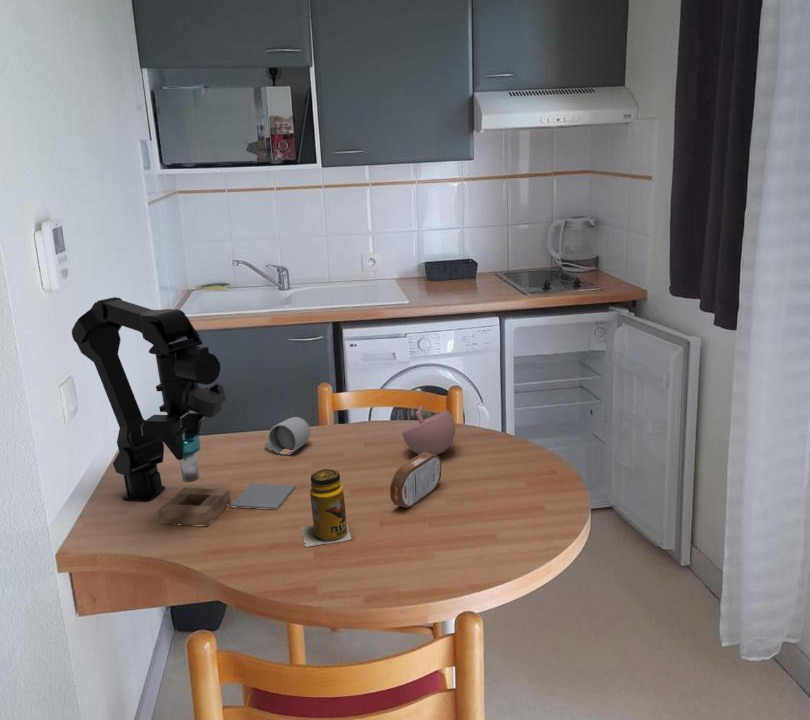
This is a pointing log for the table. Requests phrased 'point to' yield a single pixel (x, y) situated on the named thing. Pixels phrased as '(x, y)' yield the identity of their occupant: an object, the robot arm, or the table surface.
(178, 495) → the eye block
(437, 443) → the mortar and pestle
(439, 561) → the table surface
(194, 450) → the teal topped white bottle
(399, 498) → the tin
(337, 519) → the condiment
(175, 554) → the table surface
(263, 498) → the slate mat
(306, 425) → the ceramic mug
